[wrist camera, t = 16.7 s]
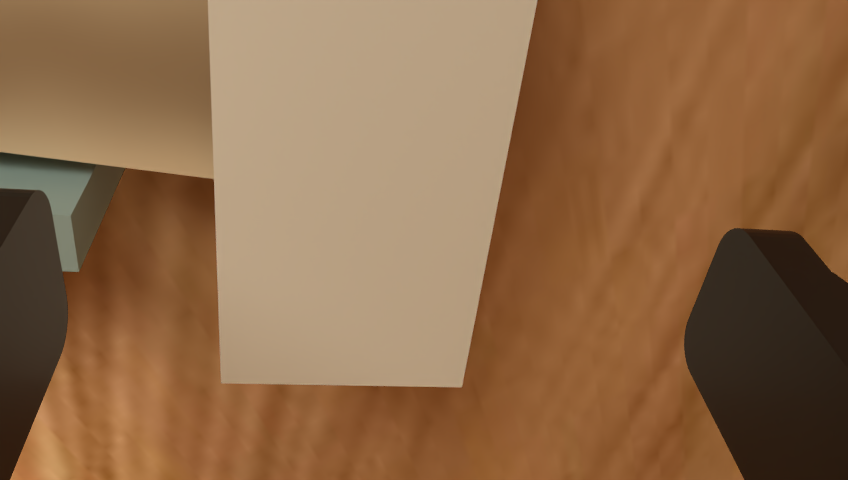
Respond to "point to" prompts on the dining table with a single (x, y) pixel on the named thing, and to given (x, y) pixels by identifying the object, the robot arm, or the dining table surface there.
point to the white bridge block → (358, 182)
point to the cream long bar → (108, 83)
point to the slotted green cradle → (66, 197)
